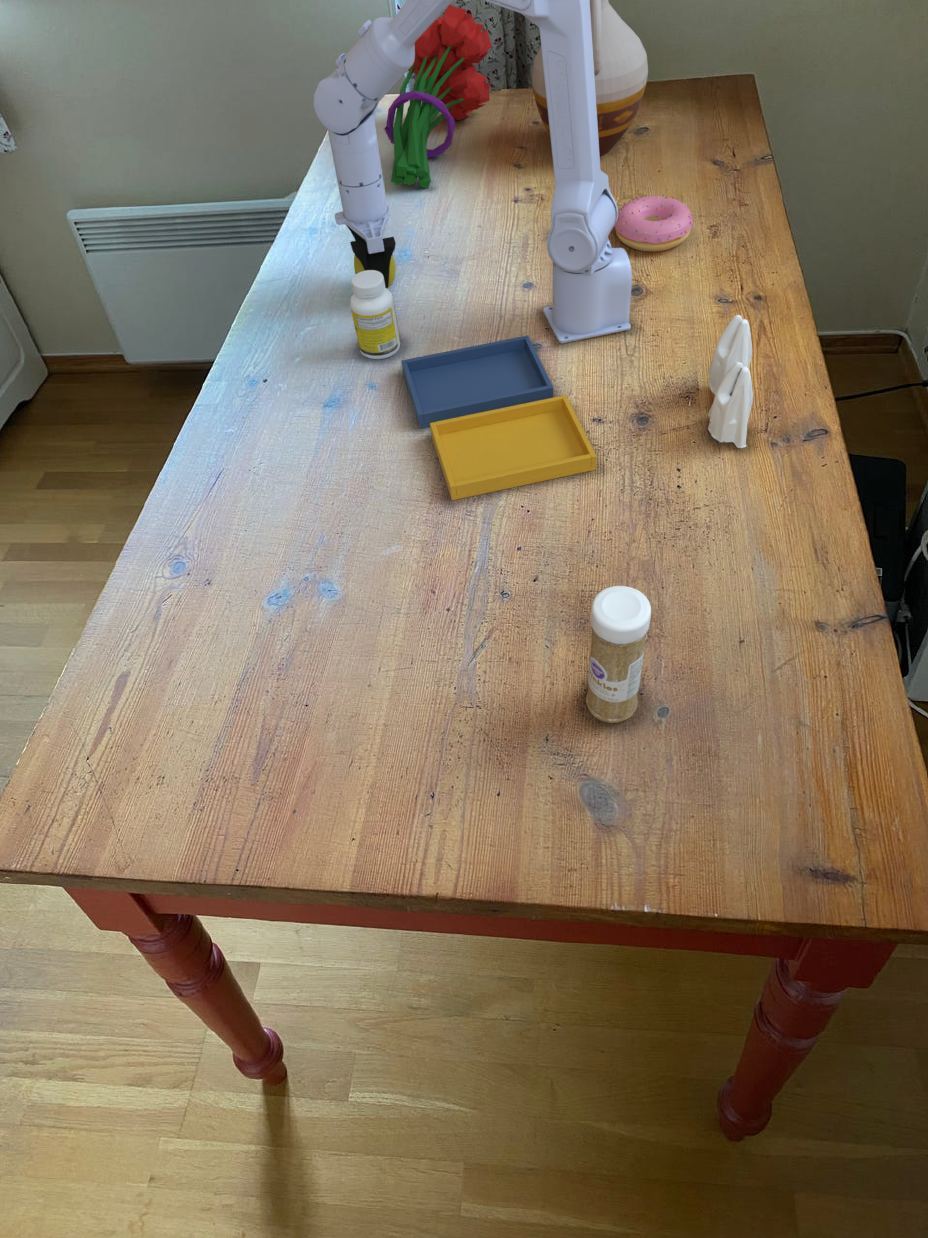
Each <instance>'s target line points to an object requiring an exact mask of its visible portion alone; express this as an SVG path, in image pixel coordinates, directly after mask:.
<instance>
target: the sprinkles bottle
mask: <svg viewBox="0 0 928 1238" xmlns="http://www.w3.org/2000/svg"><path fill="white" fill-rule="evenodd" d="M651 616H652V606H651V603H650V601H649V599H648V598H647V596H646V595H645V594H644V593H643V592H642V591H640V590H638V589H636V588H634V587H632V586H626V585H613V586H609V587H606V588H604V589H602V590H601V591H599V592H598V593H597V594H596V596H594V598H593V599H592V602H591V608H590V618H589V619H590V620H589V621H590V626H591V639H590V643H591V644H590V654H589V659H588V667H587V668H588V669H587V692H586V695H585V703H586V704H585V705H586V707H587V709H588V711H589V712H590V714H591V715H592V716H593V717H594V718H596V719H597V720H598V721H601V722H604V723H609V724H614V723H616V724H617V723H621V722H624V721H627V720H628V719H630V718H631V717H633V715H634V713H635V712H636V710H637V708H638V703H639V702H638V701H639V700H638V693H639V689H640V686H641V685H640V683H641V677H642V671H643V663H644V656H645V649H646V648H645V647H646V636H647V633H648V631H649V629H650V624H651Z"/></svg>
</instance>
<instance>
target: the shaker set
mask: <svg viewBox="0 0 928 1238" xmlns="http://www.w3.org/2000/svg"><path fill="white" fill-rule="evenodd" d="M750 327H751V326H750V323H749V321H748V320H747V319H746V318H743V317H742V315H740V314H736V315H735V316H733V317H732V318H731V319H730V321H729V322H728V323H727V324H726V326H725V328H724V330H723V332H722V334H721V335H720V337H719V339H718V341H717V343H716V346H715V349H714V353H713V358H712V360H711V363H710V365H709V367H708V369H707V372H708V374H709V378H708V382H707V384H708V386H709V388H710V391H711V392H712V394H713V395H714V398H713V401H712V404H711V406H710V409H709V410H708V413H707V416H708V417H709V421H708V427H707V430H708V431H709V433H710V435H711V437H712V438H713V439H715V440H716V441H718V442H719V443H733V444H734V445H735V446H736V448H737V449H744V448H746V447H747V432H748V423H749V419H750V415H751V410H752V406H753V401H754V390H753V382H752V375H751V371H750V364H751V360H752V357H753V344H752V343H753V342H752V333H751V328H750Z"/></svg>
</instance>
